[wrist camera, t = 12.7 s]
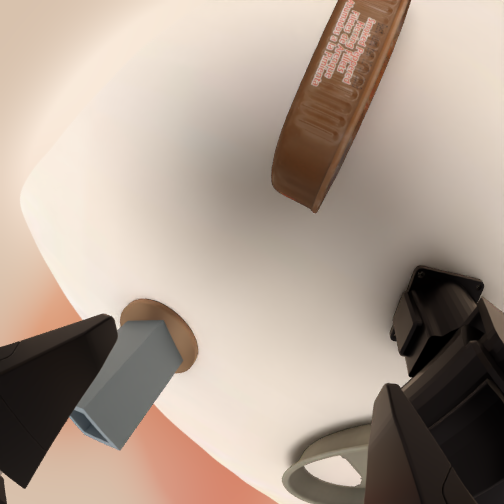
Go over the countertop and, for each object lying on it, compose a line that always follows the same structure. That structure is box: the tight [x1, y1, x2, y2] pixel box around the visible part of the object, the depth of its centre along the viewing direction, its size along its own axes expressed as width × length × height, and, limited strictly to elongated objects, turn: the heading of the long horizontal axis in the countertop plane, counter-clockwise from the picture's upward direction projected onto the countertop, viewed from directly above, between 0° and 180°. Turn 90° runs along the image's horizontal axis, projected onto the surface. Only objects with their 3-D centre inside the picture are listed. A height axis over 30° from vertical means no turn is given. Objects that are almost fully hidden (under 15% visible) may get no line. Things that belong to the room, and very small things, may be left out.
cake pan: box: [282, 424, 371, 504], centre depth 26 cm, size 25×25×4 cm
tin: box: [271, 0, 411, 213], centre depth 11 cm, size 15×3×8 cm, turn 158°
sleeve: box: [69, 320, 183, 450], centre depth 22 cm, size 5×5×12 cm
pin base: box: [120, 299, 198, 373], centre depth 26 cm, size 9×9×5 cm
